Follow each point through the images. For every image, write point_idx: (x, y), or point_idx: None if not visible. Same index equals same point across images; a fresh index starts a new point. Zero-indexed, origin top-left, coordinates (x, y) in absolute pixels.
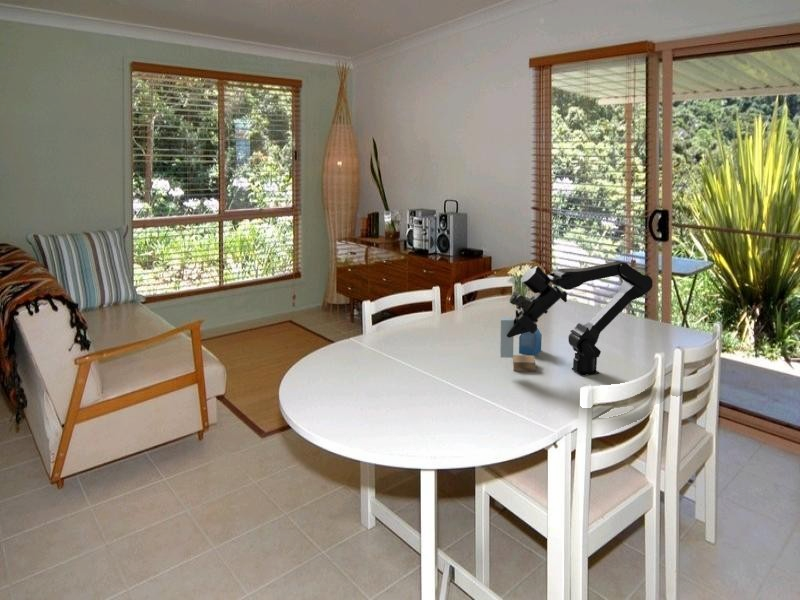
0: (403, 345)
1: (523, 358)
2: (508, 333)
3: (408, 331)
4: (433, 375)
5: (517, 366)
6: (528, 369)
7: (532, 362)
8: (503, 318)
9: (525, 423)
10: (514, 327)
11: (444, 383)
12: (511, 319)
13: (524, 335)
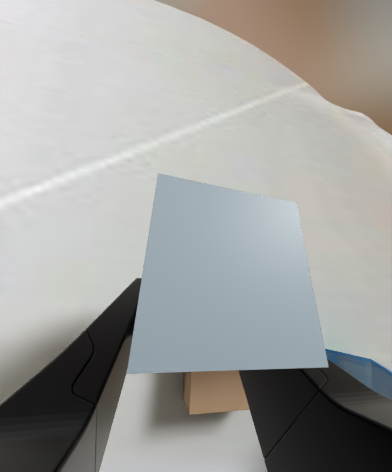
0: (301, 131)
1: None
2: (126, 289)
3: (360, 148)
4: (160, 143)
5: None
6: (185, 374)
7: (190, 400)
8: (238, 218)
9: None
10: (60, 359)
11: (110, 152)
12: (187, 328)
13: (382, 384)
